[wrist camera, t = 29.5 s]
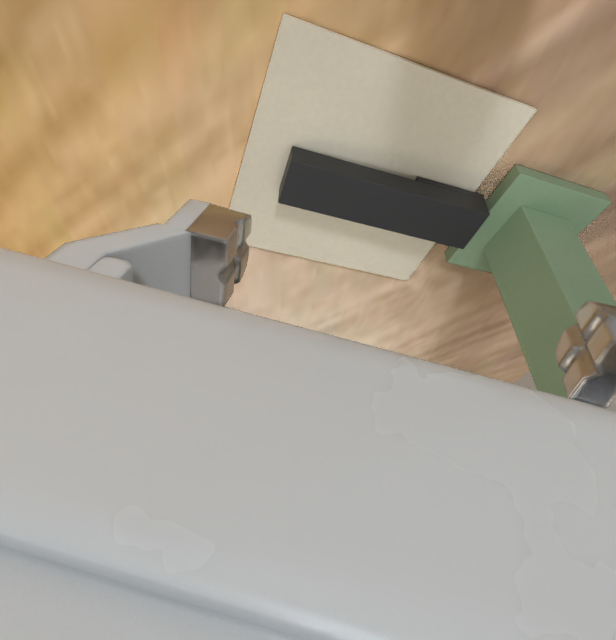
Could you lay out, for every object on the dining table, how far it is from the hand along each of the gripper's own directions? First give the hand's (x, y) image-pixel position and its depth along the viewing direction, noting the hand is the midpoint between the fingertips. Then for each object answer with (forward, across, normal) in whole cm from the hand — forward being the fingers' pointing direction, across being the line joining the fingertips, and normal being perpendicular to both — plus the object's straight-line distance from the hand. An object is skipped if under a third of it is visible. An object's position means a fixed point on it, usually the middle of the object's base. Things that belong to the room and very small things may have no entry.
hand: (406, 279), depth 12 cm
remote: (+31, 0, +12) cm, 33 cm away
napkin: (+33, +3, +11) cm, 35 cm away
